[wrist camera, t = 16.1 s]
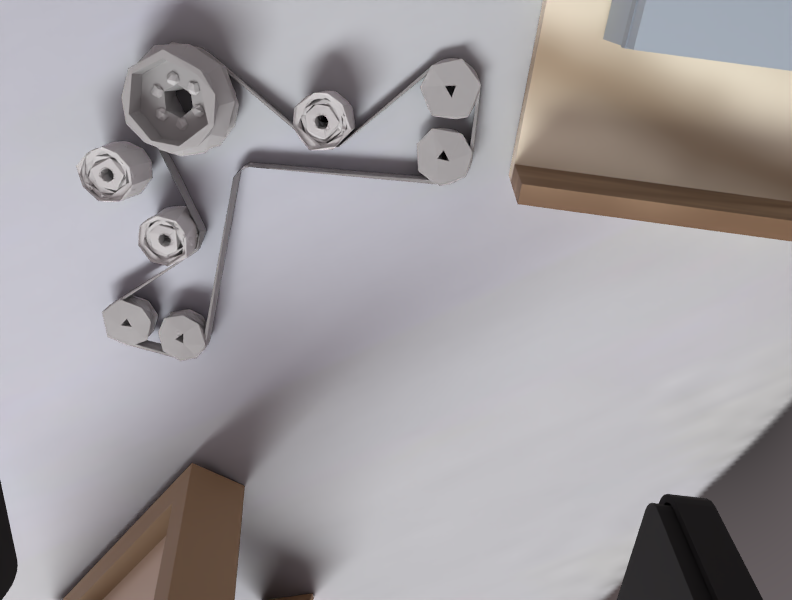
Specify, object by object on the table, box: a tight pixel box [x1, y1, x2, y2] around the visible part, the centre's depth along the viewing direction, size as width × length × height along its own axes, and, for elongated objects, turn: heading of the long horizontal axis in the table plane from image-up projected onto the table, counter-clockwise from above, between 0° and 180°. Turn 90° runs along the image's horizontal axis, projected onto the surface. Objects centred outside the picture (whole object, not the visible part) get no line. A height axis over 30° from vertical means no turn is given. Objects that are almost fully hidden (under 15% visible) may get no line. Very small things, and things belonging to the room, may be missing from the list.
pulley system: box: [76, 42, 481, 361], centre depth 37 cm, size 27×5×15 cm
